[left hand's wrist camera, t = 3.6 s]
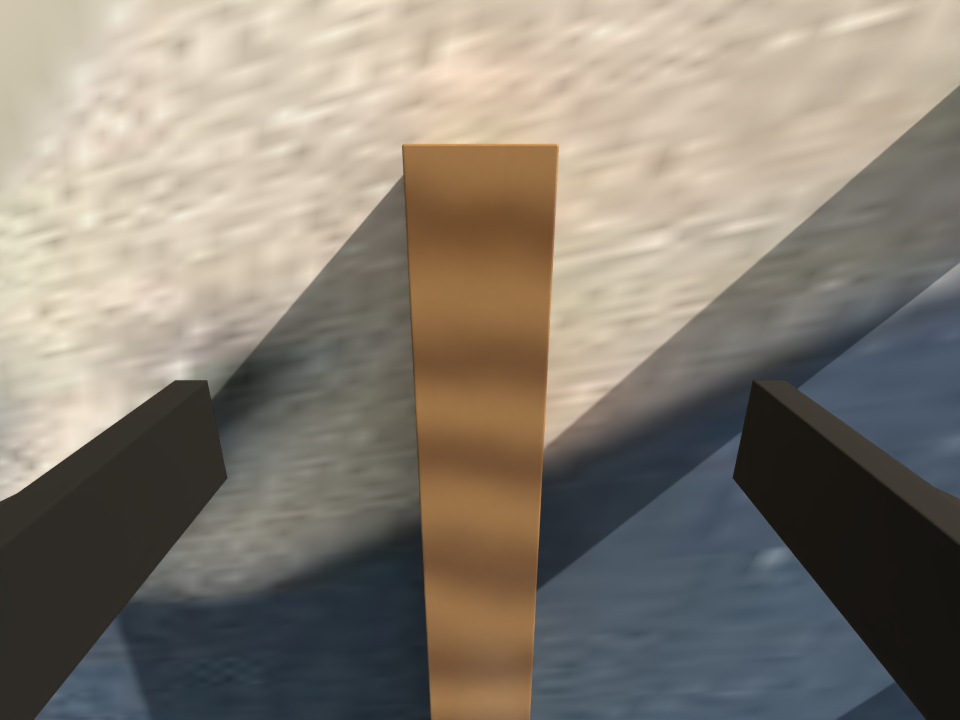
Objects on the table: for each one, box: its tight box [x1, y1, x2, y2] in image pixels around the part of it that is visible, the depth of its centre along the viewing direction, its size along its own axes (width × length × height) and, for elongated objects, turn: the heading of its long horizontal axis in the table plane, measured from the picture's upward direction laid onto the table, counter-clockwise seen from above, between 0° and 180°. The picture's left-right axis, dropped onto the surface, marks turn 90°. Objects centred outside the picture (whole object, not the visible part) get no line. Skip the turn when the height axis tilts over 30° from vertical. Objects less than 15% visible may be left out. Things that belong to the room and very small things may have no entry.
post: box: [402, 144, 559, 720], centre depth 33 cm, size 60×6×8 cm, turn 0°
